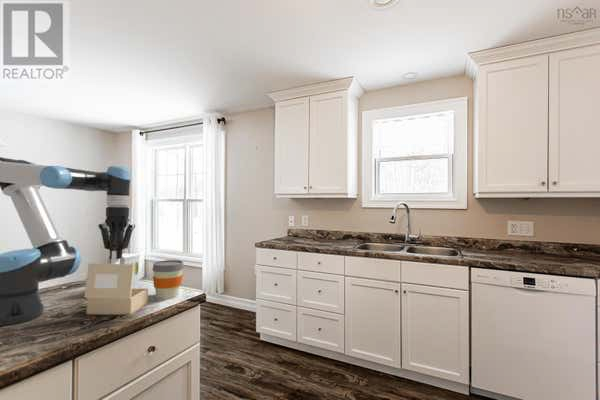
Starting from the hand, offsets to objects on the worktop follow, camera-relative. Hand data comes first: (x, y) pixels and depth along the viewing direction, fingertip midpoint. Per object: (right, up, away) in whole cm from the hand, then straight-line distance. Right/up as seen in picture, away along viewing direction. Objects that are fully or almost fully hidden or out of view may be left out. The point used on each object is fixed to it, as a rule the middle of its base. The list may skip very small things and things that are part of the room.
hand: (115, 267), depth 106 cm
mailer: (+1, -16, +1) cm, 17 cm away
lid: (+1, -4, -5) cm, 6 cm away
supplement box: (-12, -17, +23) cm, 31 cm away
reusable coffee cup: (+12, -17, +16) cm, 27 cm away
